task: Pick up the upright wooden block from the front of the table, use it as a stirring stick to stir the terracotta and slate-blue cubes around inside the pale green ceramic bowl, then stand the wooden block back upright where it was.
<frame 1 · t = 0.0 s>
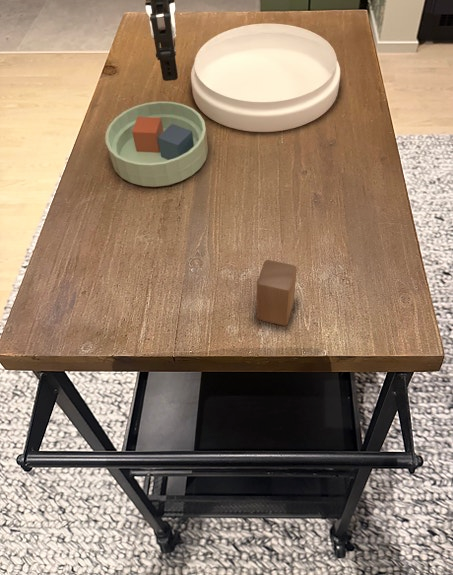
hand: (169, 63, 78), 14 cm above the table, tool pointing down, fingers open, 8 cm apart
terracotta cube: (150, 144, 88), point 1 cm above the table, touching bowl
wooden block: (275, 312, 68), on the table
slate cube: (178, 154, 86), point 1 cm above the table, touching bowl
bowl: (160, 156, 87), on the table
plate: (264, 88, 97), on the table
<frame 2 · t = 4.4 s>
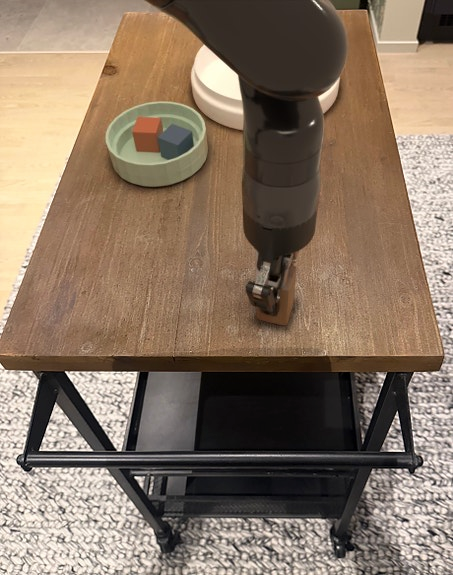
hand: (275, 297, 65), 3 cm above the table, tool pointing down, fingers closed on wooden block, 4 cm apart
wooden block: (275, 312, 68), on the table, touching gripper
everything else where it was.
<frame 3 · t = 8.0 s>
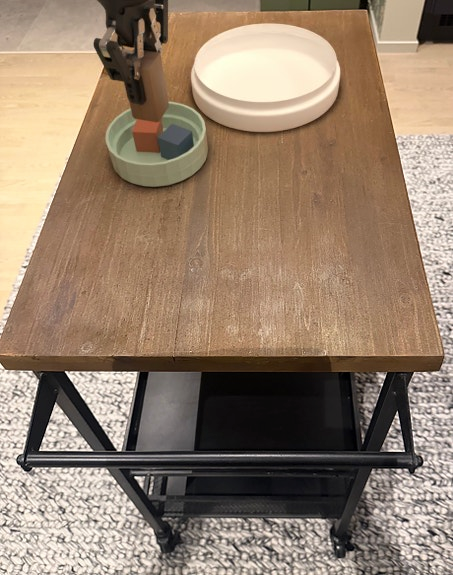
hand: (146, 91, 68), 17 cm above the table, tool pointing down, fingers closed on wooden block, 4 cm apart
wooden block: (151, 114, 71), point 14 cm above the table, touching gripper
everything else where it was.
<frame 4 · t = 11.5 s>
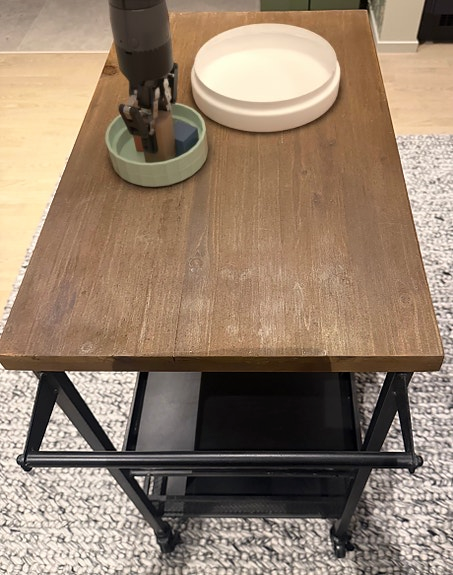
hand: (158, 142, 81), 5 cm above the table, tool pointing down, fingers closed on wooden block, 4 cm apart
wooden block: (161, 160, 84), point 1 cm above the table, touching gripper, slate cube
slate cube: (183, 150, 86), point 1 cm above the table, touching bowl, gripper, wooden block
everything else where it was.
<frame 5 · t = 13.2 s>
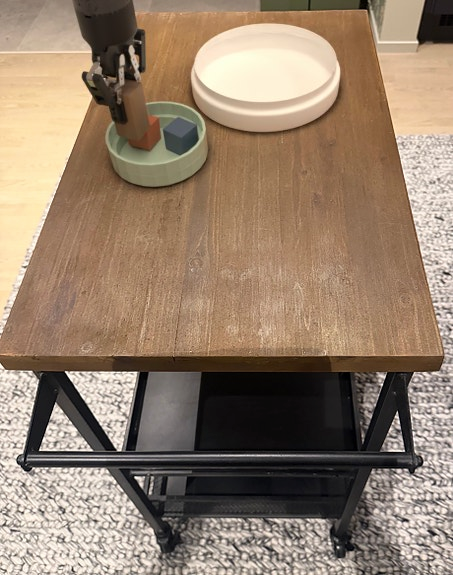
hand: (128, 113, 80), 9 cm above the table, tool pointing down, fingers closed on wooden block, 4 cm apart
terracotta cube: (145, 141, 88), point 1 cm above the table, tilted 7°, touching bowl
wooden block: (134, 133, 82), point 5 cm above the table, touching gripper
slate cube: (182, 146, 87), point 1 cm above the table, touching bowl
everything else where it was.
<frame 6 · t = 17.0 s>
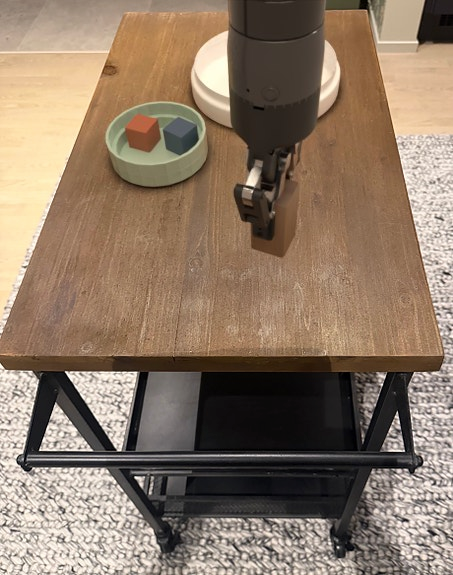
hand: (270, 220, 55), 16 cm above the table, tool pointing down, fingers closed on wooden block, 4 cm apart
terracotta cube: (145, 143, 88), point 1 cm above the table, touching bowl
wooden block: (273, 243, 58), point 12 cm above the table, touching gripper
everything else where it was.
when the fingers open (3 cm above the table, at t = 20.2 s): wooden block stays where it is, on the table.
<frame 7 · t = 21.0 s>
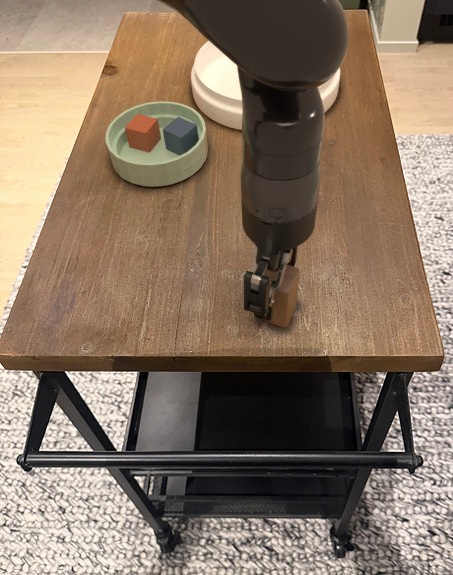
hand: (275, 289, 63), 5 cm above the table, tool pointing down, fingers open, 8 cm apart
wooden block: (277, 313, 67), on the table
everything else where it was.
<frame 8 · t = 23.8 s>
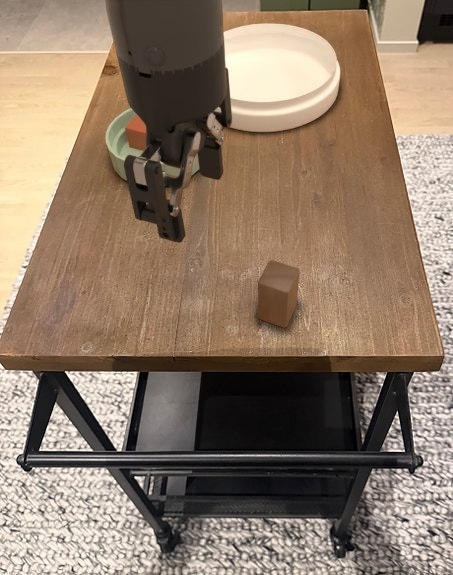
hand: (193, 205, 48), 22 cm above the table, tool pointing down, fingers open, 8 cm apart
nothing on the table moved.
at the end: slate cube moved 1.9 cm from its start; slate cube inside the target area in the bowl (4.0 cm from its centre), point 0.6 cm above the bowl's base; wooden block inside the target area (0.3 cm from its centre), on the table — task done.
